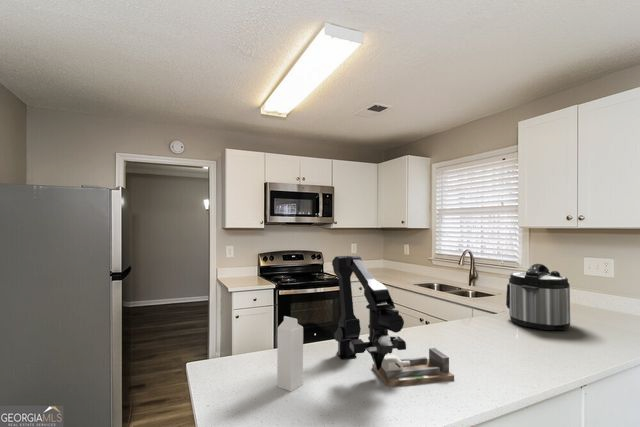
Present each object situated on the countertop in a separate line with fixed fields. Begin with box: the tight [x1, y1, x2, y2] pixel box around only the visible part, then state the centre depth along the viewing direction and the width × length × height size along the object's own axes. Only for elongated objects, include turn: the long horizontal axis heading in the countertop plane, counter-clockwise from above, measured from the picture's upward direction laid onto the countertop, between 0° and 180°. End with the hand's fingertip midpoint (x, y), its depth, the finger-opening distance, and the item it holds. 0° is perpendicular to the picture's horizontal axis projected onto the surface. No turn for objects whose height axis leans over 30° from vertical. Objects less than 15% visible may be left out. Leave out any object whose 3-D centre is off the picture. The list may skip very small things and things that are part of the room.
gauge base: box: [371, 347, 455, 387], centre depth 118 cm, size 24×14×6 cm, turn 102°
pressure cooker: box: [505, 263, 571, 331], centre depth 178 cm, size 30×28×32 cm
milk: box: [276, 315, 304, 393], centre depth 109 cm, size 6×6×22 cm
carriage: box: [382, 354, 410, 373], centre depth 115 cm, size 9×10×4 cm
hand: (377, 369), depth 115 cm, fingers closed
